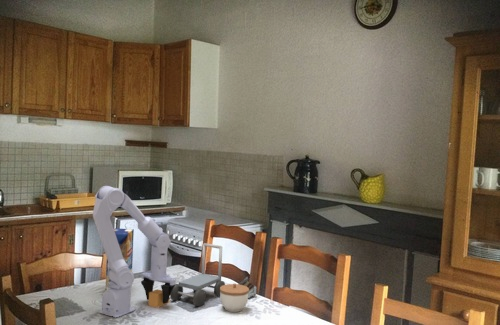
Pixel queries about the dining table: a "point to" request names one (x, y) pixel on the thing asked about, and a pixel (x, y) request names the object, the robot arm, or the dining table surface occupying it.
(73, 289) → the dining table surface
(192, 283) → the trolley
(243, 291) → the lidded jar
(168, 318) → the dining table surface
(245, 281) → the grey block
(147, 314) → the dining table surface
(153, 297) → the block
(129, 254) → the juice carton
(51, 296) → the dining table surface
